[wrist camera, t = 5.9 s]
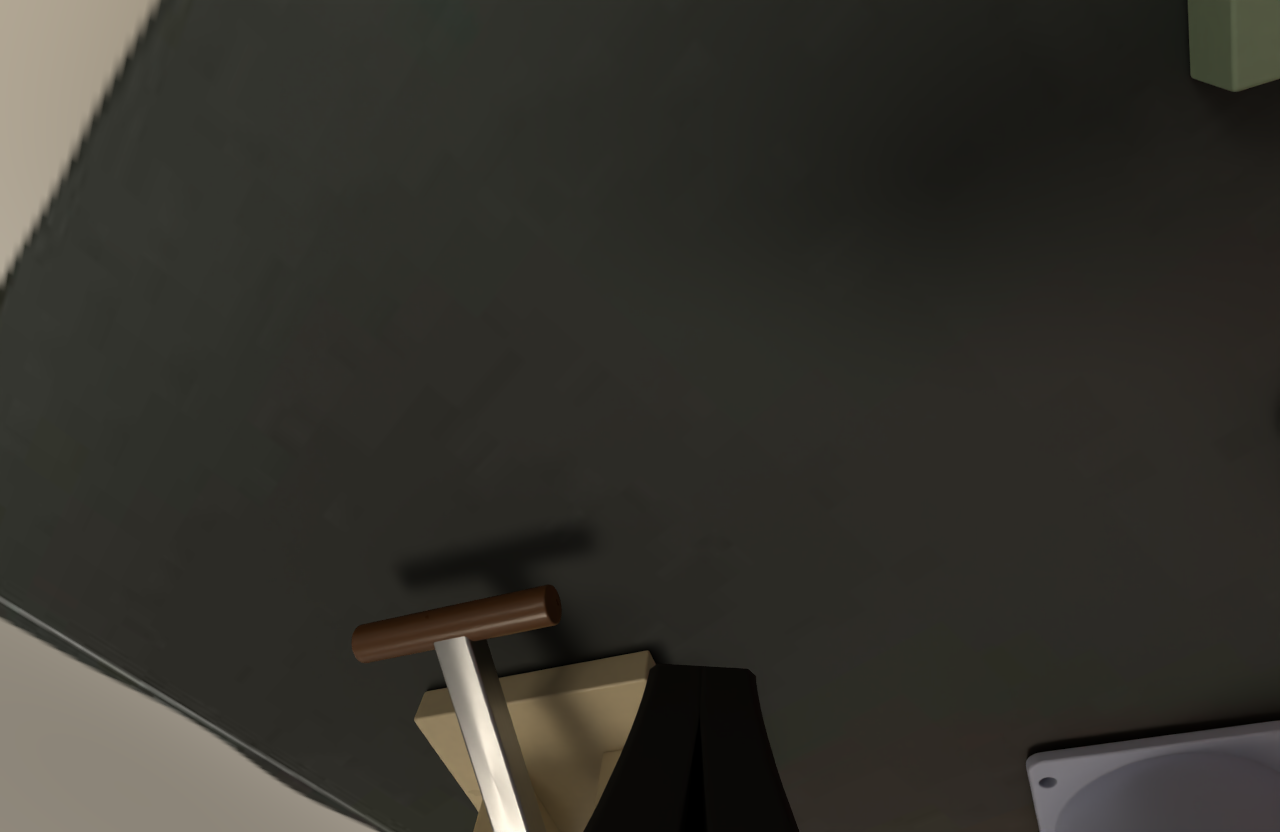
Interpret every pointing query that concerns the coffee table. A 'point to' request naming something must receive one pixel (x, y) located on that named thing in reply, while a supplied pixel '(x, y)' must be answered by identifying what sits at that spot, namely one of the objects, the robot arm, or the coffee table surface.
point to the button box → (1234, 42)
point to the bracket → (553, 733)
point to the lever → (475, 686)
